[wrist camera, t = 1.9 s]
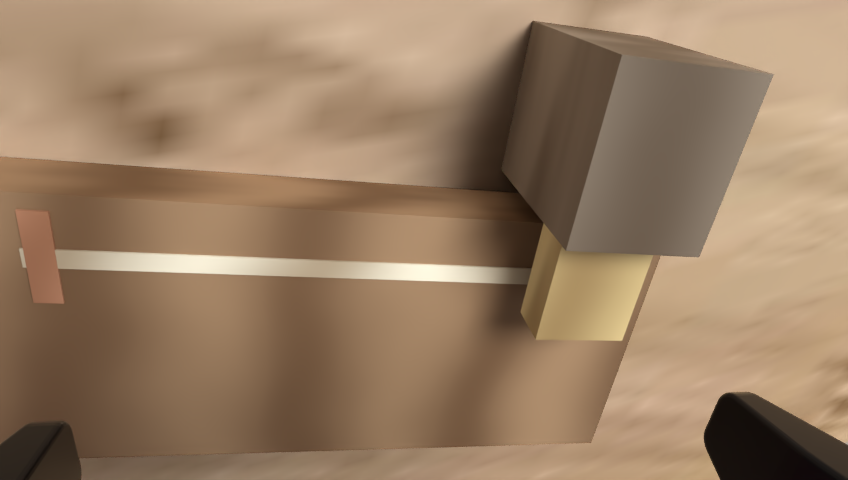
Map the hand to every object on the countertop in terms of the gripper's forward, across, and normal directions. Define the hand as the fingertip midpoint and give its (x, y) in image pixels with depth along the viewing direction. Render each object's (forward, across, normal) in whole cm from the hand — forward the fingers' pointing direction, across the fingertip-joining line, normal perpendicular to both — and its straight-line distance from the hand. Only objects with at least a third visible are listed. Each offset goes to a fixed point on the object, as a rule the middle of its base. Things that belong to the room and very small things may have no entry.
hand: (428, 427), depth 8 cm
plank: (+12, +1, +6) cm, 14 cm away
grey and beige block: (+13, -7, 0) cm, 14 cm away
